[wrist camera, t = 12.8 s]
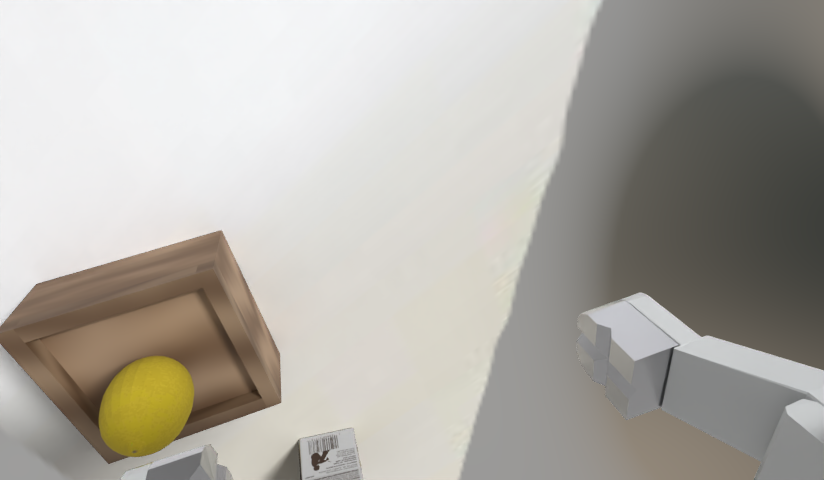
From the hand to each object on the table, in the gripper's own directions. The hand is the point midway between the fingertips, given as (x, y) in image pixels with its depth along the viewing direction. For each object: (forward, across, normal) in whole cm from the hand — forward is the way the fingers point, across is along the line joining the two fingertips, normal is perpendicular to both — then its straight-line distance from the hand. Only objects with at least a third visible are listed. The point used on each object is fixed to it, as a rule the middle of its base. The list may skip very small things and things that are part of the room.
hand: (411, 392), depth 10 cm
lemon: (+23, +16, +15) cm, 32 cm away
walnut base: (+28, +16, +15) cm, 36 cm away
